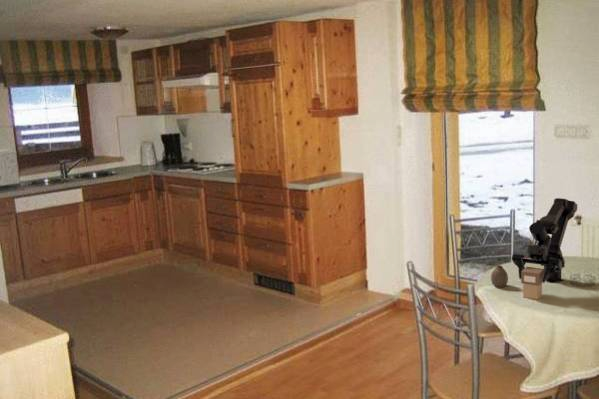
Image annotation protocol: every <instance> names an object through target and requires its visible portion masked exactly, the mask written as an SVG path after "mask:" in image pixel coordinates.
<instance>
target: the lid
mask: <svg viewBox="0 0 599 399" xmlns="http://www.w3.org/2000/svg"><path fill="white" fill-rule="evenodd" d="M543 277H544V268H539V267H533V266H525V269H524V270H522V271H521V279H520V282H521V284H529V285H536V286H539V285H540V284H541V283H542V284H543Z"/></svg>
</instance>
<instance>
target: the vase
mask: <svg viewBox="0 0 599 399" xmlns="http://www.w3.org/2000/svg"><path fill="white" fill-rule="evenodd" d="M490 281H491V283H492V285H493V286H494V287H496V288H504V287H506V286H507V284H508V281H509V276H508V273H507V271H506V270H505V269H504V267H503V265H499V264H498V265H496V266H495V268H494V269H493V270H492V272H491V275H490Z"/></svg>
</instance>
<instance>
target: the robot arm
mask: <svg viewBox="0 0 599 399" xmlns="http://www.w3.org/2000/svg"><path fill="white" fill-rule="evenodd" d="M577 211H578V204H577V203H576V202H575V200H568V199H567V198H562V197H561V198H559V197H557V198H554V200H553V204H552V205H551V207H550V209H549V211H548V212H547V214H546V215H545V216H541V218H540V219H536V222H533V223H532V224H530V226H529V228H528V230H529V232H530V234H531V236H532V239H534V244H532V245H531V244H528V245H527V250H526V254H528V257H525V255H524V254H522V253H513V254H512V256H511V259H512V260H511V261H512V263H513V264H514V265H515V266H516V267H517V268H518V277H519V280H521V271H522V270H524V269H525V268H526V266H525V265H526V264H535V265H540V266H541V267H543V269H544V277H543V282H542V284H544V283H546V282H549V283H553V282H554V283H556V282H562V281H564V279H563V278H562V271H563V270H562V269H563V268H565V266H566V260H565V258H564V256H563V252H562V250H561V246H562V243H563V239H564V236H565V233H566V230H567V226H568V223H569V221H570V220H571V219H573V218H574V217H575V214H576V212H577ZM550 235H551V236H550Z"/></svg>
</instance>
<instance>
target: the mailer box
mask: <svg viewBox="0 0 599 399" xmlns="http://www.w3.org/2000/svg"><path fill="white" fill-rule="evenodd" d="M522 284H523V283H522ZM522 291H523V292H522V297H523V298H525V299H531V300H539V299H540V298H541V297H542V296H543V282H542V283H541V284H540V285H539V286H536V285H529V284H523V285H522Z"/></svg>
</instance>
